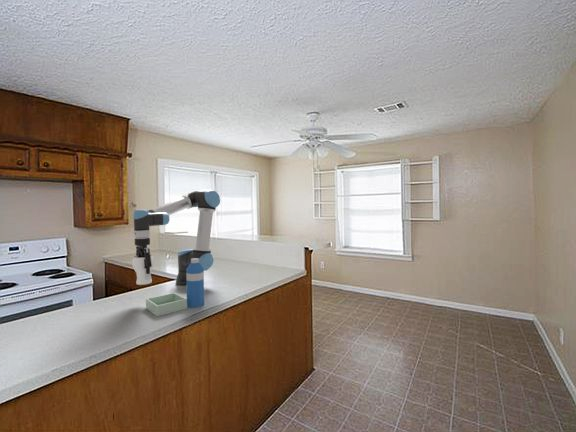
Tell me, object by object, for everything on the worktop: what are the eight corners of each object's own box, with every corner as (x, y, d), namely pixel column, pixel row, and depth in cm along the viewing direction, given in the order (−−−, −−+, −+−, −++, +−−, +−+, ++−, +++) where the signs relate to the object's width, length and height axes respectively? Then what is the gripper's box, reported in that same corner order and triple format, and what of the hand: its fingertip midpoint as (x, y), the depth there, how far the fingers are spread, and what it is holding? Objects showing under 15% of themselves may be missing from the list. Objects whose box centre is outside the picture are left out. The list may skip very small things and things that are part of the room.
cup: (144, 286, 153) (142, 258, 152) (128, 284, 156) (127, 257, 155) (159, 281, 163) (157, 254, 162) (144, 279, 166) (143, 253, 165)
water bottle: (199, 300, 164) (198, 256, 163) (207, 304, 157) (207, 258, 156) (183, 304, 157) (182, 258, 156) (191, 308, 150) (190, 261, 149)
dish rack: (174, 301, 162) (174, 292, 162) (187, 308, 151) (186, 298, 151) (146, 308, 151) (145, 298, 151) (157, 316, 140) (157, 306, 140)
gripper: (128, 236, 164) (129, 275, 165) (142, 240, 147) (144, 283, 149) (142, 235, 169) (143, 272, 170) (157, 239, 153) (159, 280, 154)
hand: (144, 277), depth 159 cm, fingers closed on cup, 10 cm apart
